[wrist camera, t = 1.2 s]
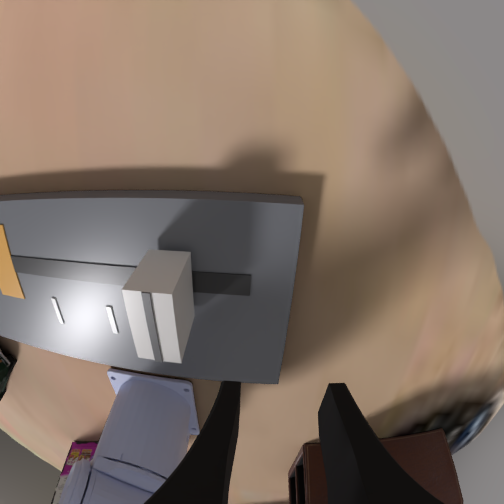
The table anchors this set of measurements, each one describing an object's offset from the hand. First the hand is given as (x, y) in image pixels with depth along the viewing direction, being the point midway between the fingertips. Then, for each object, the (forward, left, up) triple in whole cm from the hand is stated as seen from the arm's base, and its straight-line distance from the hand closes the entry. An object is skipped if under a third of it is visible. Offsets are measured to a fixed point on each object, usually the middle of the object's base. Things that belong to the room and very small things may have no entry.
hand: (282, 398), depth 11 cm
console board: (-2, +14, -9) cm, 17 cm away
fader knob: (0, +6, -7) cm, 10 cm away
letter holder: (-28, -15, -10) cm, 33 cm away
